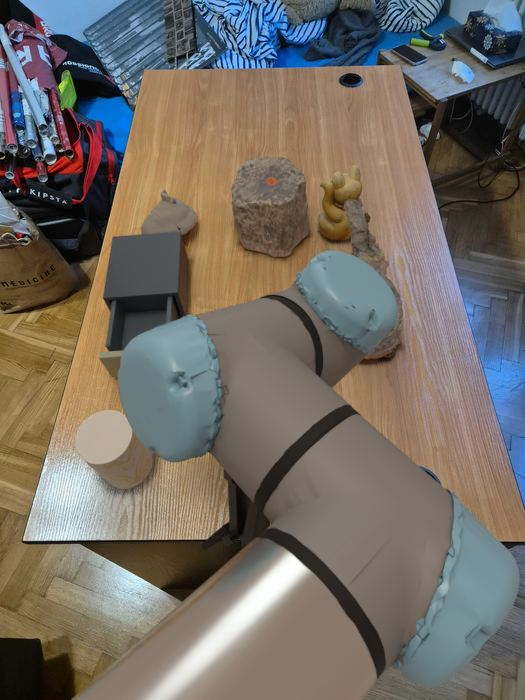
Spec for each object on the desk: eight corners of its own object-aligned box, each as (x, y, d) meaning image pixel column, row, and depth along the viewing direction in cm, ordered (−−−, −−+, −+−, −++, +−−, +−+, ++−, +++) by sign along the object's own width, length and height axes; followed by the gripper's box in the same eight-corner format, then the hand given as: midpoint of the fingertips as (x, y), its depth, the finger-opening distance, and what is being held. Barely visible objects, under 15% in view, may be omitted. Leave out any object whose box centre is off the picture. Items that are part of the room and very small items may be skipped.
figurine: (329, 279, 95) (341, 175, 74) (393, 280, 94) (424, 175, 73) (331, 365, 84) (345, 272, 63) (403, 367, 84) (443, 273, 62)
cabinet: (186, 320, 91) (177, 292, 84) (117, 325, 91) (102, 298, 84) (188, 261, 100) (180, 231, 92) (125, 266, 100) (112, 236, 93)
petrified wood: (240, 197, 110) (234, 138, 97) (314, 202, 108) (317, 143, 95) (224, 255, 100) (215, 199, 87) (305, 262, 98) (308, 205, 85)
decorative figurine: (345, 212, 105) (353, 153, 93) (369, 233, 102) (381, 175, 89) (311, 231, 103) (314, 172, 90) (335, 253, 99) (342, 195, 86)
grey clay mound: (156, 223, 110) (149, 178, 103) (205, 227, 109) (201, 182, 102) (137, 248, 101) (128, 201, 94) (190, 253, 100) (185, 206, 93)
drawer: (179, 393, 82) (171, 374, 76) (109, 398, 82) (95, 380, 76) (183, 308, 92) (176, 286, 86) (120, 313, 92) (109, 291, 86)
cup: (130, 498, 73) (105, 475, 63) (92, 472, 76) (62, 445, 66) (162, 455, 77) (143, 426, 67) (125, 432, 79) (101, 400, 69)
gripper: (370, 502, 41) (261, 569, 55) (222, 291, 49) (160, 397, 63) (315, 545, 36) (211, 607, 50) (160, 302, 44) (108, 415, 58)
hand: (183, 490), depth 56 cm, fingers open, 13 cm apart
